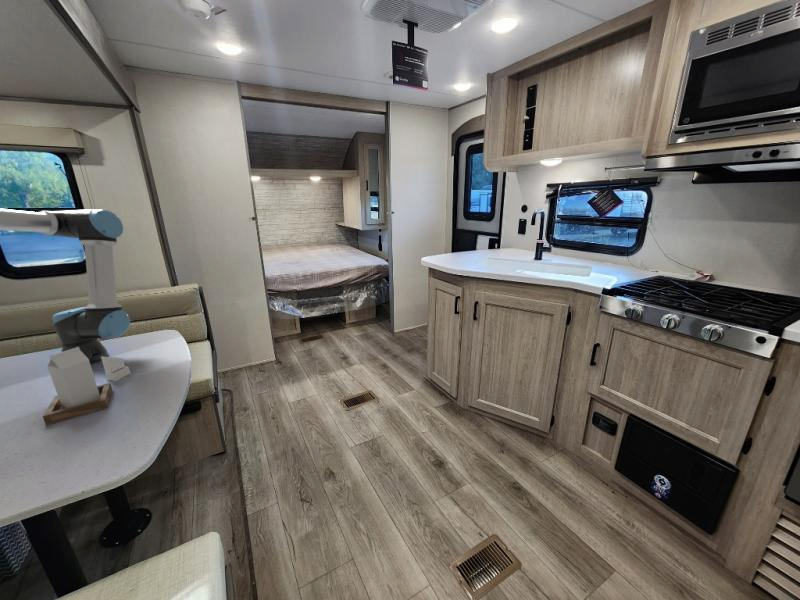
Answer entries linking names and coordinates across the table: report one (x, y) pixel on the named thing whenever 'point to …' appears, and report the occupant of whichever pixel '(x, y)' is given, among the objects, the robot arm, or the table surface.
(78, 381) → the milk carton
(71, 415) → the square wooden tray
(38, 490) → the table surface
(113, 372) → the white angled block
